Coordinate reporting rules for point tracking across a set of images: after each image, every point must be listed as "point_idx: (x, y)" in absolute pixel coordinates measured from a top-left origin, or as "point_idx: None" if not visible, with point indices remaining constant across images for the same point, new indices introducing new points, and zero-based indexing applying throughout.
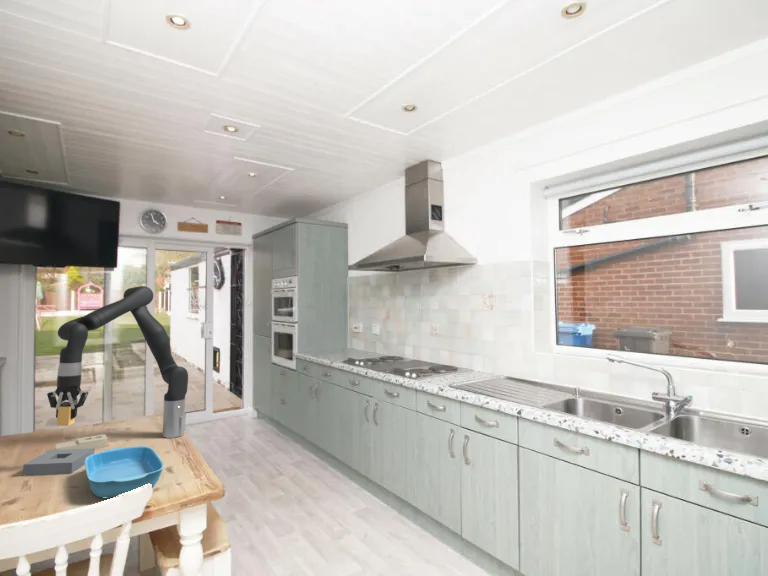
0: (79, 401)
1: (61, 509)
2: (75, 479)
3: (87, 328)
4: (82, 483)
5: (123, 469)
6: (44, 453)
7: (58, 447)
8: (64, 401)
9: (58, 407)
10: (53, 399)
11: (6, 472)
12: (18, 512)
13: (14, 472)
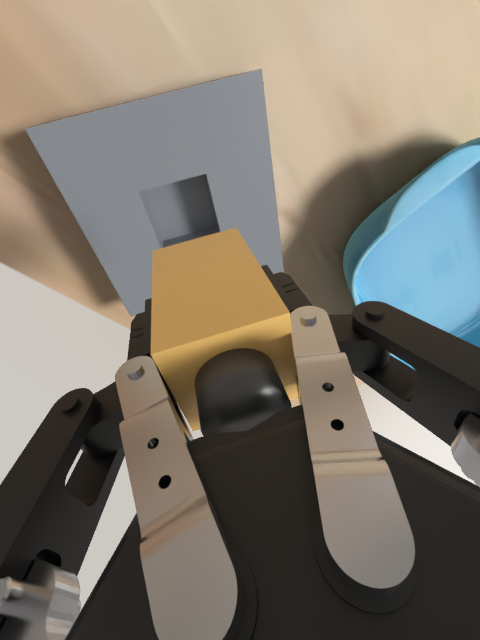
0: (409, 402)
1: (359, 382)
2: (310, 286)
3: None
4: (341, 302)
5: (424, 221)
6: (64, 194)
7: None
8: (178, 416)
9: (194, 427)
10: (78, 525)
11: (37, 281)
12: (298, 402)
13: (68, 277)
